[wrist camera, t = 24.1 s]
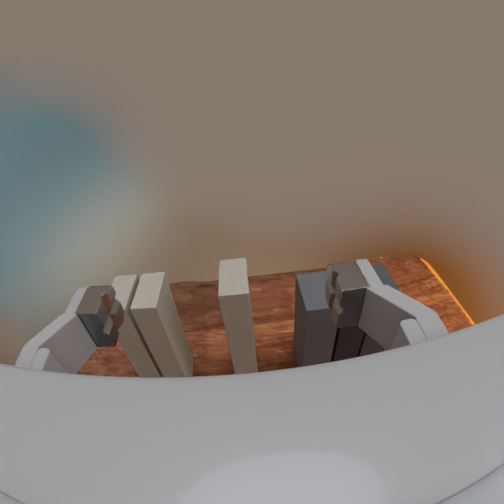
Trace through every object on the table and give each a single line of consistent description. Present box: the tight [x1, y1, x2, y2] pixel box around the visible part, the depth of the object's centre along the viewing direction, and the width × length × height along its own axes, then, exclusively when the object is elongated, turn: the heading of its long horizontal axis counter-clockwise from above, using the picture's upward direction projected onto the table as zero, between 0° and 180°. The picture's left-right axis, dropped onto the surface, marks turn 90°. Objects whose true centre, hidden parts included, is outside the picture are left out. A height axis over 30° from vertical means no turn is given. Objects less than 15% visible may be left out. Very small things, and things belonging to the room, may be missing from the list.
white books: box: [111, 272, 194, 378], centre depth 30 cm, size 6×13×14 cm, turn 94°
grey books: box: [294, 264, 400, 367], centre depth 31 cm, size 5×10×12 cm, turn 94°
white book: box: [218, 258, 258, 374], centre depth 30 cm, size 5×2×14 cm, turn 4°
